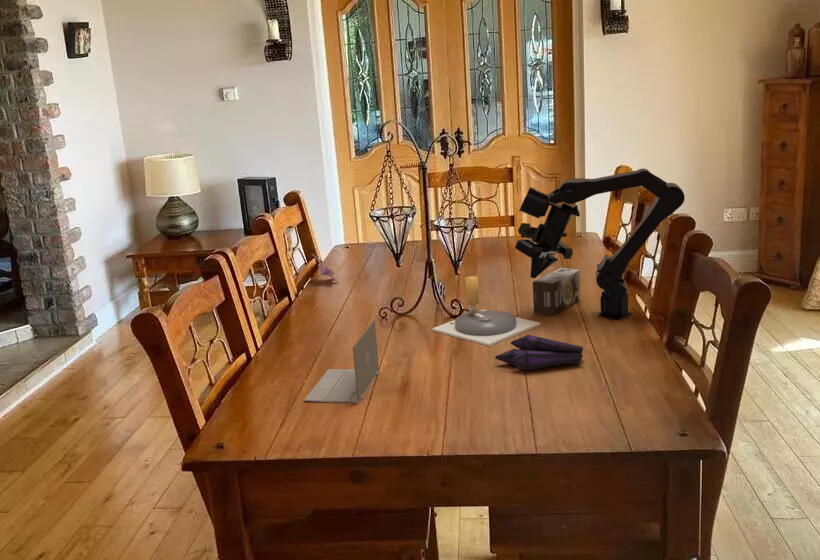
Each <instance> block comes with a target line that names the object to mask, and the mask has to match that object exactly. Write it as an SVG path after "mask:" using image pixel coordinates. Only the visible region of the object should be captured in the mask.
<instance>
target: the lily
mask: <svg viewBox="0 0 820 560" xmlns="http://www.w3.org/2000/svg"><path fill="white" fill-rule="evenodd" d="M311 255H312V256H313V257H314V258H315V259H316V260H317V262H318V264H317V267H318V270H319V273H318V276H317V277H316V279H315V282H314V285H313V286H314V287H315V286H316V284H317V281H318V280H319V278H320V276H327V277H330V278H332V279H333V281H335V282H338V280H337V279H336V278H335V277H334V275H335V272H334V270H332V269H331V268H330V266H328V265H327V266H325V265H324V264H323V262H321V261H320V260H319V258H318V256H316V255H315V254H313V253H311Z"/></svg>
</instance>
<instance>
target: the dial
mask: <svg viewBox="0 0 820 560" xmlns="http://www.w3.org/2000/svg"><path fill="white" fill-rule="evenodd" d="M464 280H465V281H464V282H465V294H466V295H465V299H466V304H467V305H469V306H470V310H468V312H466V313H463V314H461V315H459V316H458V317H456V318H455V319H456V320H455V319H454V320H455V327H456V329H457V330H458V331H460V332H463V333H466V334H472V335H493V334H500V333H504V332H507V331H510V330H512V329H513V328H515V327H516V317H517V316H515V315H514V314H512V313H510V312H507V311H502V310H487V311H480V310H477V309H476V305H479V304H480V293H479V291H480V290H479V277H478V276H476V275H470V276H466V277H465V279H464Z"/></svg>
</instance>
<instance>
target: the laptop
mask: <svg viewBox="0 0 820 560" xmlns="http://www.w3.org/2000/svg"><path fill="white" fill-rule="evenodd" d="M375 321H376V320H375V319H373V320H372V321H371V323H370V324H369V325H368V327H367V328H366V329H365V331H364V332H363V333H362V335H360V337H359V338H358V340H357V341H356V342H355V344H354V345H353V346H352V352H353V355H352V356H353V364H354V368H353V369H352V368H351V369H350V368H349V369H348V368H329V369H327V370H326V372H325V373H324V374H323V375H322V376H321V378H320V379H319V380H318V382H317V383H316V384H315V385H314V387H312V389H311V390H310V391H309V393H307V395H306V396H305V398H304V399H303V402H317V403H333V404H334V403H335V404H360V402H361V401H362V399H363V398H364V396H365V394H366V392H367V391H368V390H369V388H370V387H371V385H372V384H373V382H374V380H375V379H376V378H377V377H376V376H377V375H378V374H379V372H380V371H379V370H380V365H379V353H378V343H377V341H378V340H377V332H376V322H375Z"/></svg>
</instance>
